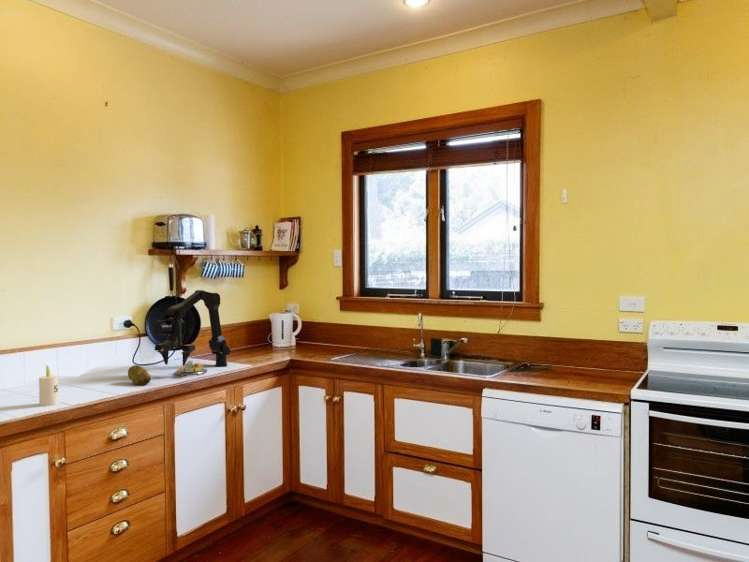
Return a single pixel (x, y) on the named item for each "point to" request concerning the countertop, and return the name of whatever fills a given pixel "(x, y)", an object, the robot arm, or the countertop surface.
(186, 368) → the tan curved piece
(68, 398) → the countertop surface
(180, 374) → the round metal dish
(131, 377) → the potato
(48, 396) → the candle
